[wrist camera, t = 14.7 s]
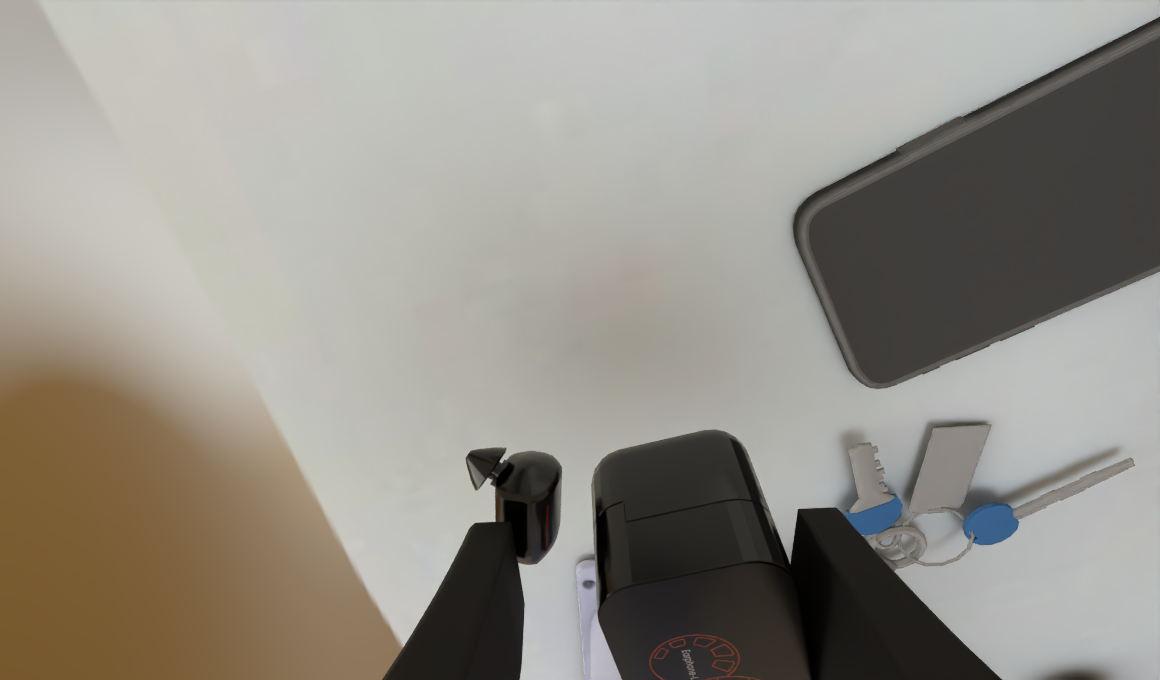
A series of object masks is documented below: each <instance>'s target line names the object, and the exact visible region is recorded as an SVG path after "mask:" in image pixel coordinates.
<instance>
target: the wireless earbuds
mask: <svg viewBox="0 0 1160 680" xmlns="http://www.w3.org/2000/svg"><path fill="white" fill-rule="evenodd" d="M505 452H506V448H485V449H477V450H472V451H470V453H469V454H468V455H467V457H466V464H467V468H468V471H469V475H470V479H471V481H472V484H473V486H474V488H475V491H476V490H478V489H479V488H480V487H481V486H482V484H483V483H484V482H485V480H486V479H487V478H490V479H491V480H492V482H491V485H492V486H494V487H495V501H496V522H509V521H511V523H512V529H513V535H514V541H515V548H516V554H517V560H518V563H521V564H526V565H532V564H537V563H538V562H539V561H541V560H542V559H543V558H544V557H545V555H546V554H547V553H548V552H549V551H550V549H551V548H552V546H553V545H554V543H555V540H556V538H557V534H558V530H559V526H560V515H561V485H562V467H561V465H560V463H559V462H558V461H557V459H555V458H554V457H553V456H551V455H549V454H547V453H543V452H537V451H527V452H521V453H516V454H514V455H511V456H510V457H509V458H508V459H507V460H504V461H503V463H500V462H499V461H500V459H501V458H502V456H503V455H504V453H505ZM591 487H592V509H593V529H594V530H593V531H594V553H595V575H596V597H597V615H598V622H599V625H600V627H601V630H602V632H603V635H604V637H605V639H606V642H607V644H608V647H609V649H610V652H611V654H612V657H613V659H614V662H615V664H616V667H617V669H618V672H619V674H620V676H621V679H622V680H813V675H812V669H811V663H810V657H809V651H808V645H807V639H806V633H805V627H804V621H803V615H802V609H801V603H800V597H799V591H798V585H797V581H796V579H795V576H794V573H793V571H792V568H791V566H790V563H789V560H788V558H787V555H786V552H785V550H784V547H783V544H782V542H781V539H780V536H779V534H778V531H777V529H776V526H775V523H774V521H773V518H772V515H771V513H770V510H769V507H768V505H767V502H766V500H765V497H764V494H763V492H762V489H761V486H760V484H759V481H758V478H757V476H756V473H755V471H754V468H753V465H752V463H751V460H750V457H749V455H748V453H747V450H746V449H745V447H744V446H743V444H742V443H741V442H740V441H739V440H738V439H737V438H736V437H734V436H733V435H731V434H729V433H727V432H725V431H720V430H703V431H699V432H694V433H690V434H686V435H681V436H677V437H673V438H668V439H664V440H659V441H655V442H651V443H646V444H642V445H638V446H633V447H629V448H624V449H620V450H617V451H615V452H612V453H610V454H608V455H607V456H606V457H604V458H603V459H602V460H601V461H600V463H599V464H598V466H597V467H596V468H595V471H594V475H593V479H592V484H591Z"/></svg>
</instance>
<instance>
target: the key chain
mask: <svg viewBox="0 0 1160 680" xmlns="http://www.w3.org/2000/svg"><path fill="white" fill-rule="evenodd" d="M991 426H992V425H973V426H954V427H936V428H933V431H932V435H931V438H930V441H929V444H928V447H927V450H926V454H925V457H924V460H923V463H922V466H921V470H920V473H919V476H918V479H917V482H916V485H915V489H914V492H913V495H912V498H911V501H910V504H909V509H910V510H911V511H912V512H913V513H916V514H914V515H912V516H911V517H909V518H908V519H907V520H906V521H905V522H904V523H903V524H902V525H899V526H896V525H895V524H894V522H895V521H896V520H897V519H898V518H899V517H900V515H901V510H902V503H901V501H900V500H899V498H898V497H897V495H896V494H895V493H894V494H893V495H891V494H888V493H885V492H886V491H888V487H887V485H884V483H883V481H882V482H880V483H879V480H882V479H883V474H885V471H884V468H883V467H882V468H880V469H876V467H878V466H881V465H880V461H879V459H878V460H875V459H874V453H877V452H878V449H877V446H874V447H872V444H871V443H862V444H858V445H856V446H855V447H853V448H852V449H850V450H849V455H850V460H851V465H852V469H853V474H854V478H855V483H856V488H857V492H858V497H859V499H858V500H857V501H856V502H855V504H854V505H853V506H852V507H851V509H850V510H846V515H845V517H846V518H847V519H848V521H849V522H850V523H851V524H852V525H853V526H854V527H855V528H856V530H857V531H858V532H859V533H860V534H861V535H870V534H872V535H873V537H872V538H871V539H870V540H869V542H868V543H869V544H870V545H871V547H872V548H873V549H874V550H875V548H876V546H877V547H878V548H880V549H884V550H888V549H891V548H893V547H894V546H895V545H896V544H897V543H898V546H899V549H900V552H901V553H902V554H903V555H904V556H905V557H903V558H901V559H898V560H891V559H889V558H887V557H885V556H883V555H881V554H880V553H878V552H877V553H878V554H879V556H880V557H881V558H882V559H883V560H884V561H885V562H886V563H887V564H888V565H889V567H890V568H891V569H892V570H893V571H895V569H899V568H904V567H906V566H909V565H911V564H913V563H918V564H921V565H924V566H943V565H946V564H949V563H951V562H954V561H957V560H959V559H960V558H961V557H962V556H963V555H965V554H966V553H967V552H968V551H969V550H970V549H971V546H972V543H976V544H979V545H992V544H995V543H998V542H1002V541H1003V540H1005V539H1007V538H1008V537H1010V536H1011V535H1012V534H1013V533H1014V532H1015V531H1016V530H1017V528H1018V524H1019V521H1018V520H1019V519H1021V518H1023V517H1025V516H1028V515H1030V514H1032V513H1034V512H1037V511H1039V510H1041V509H1043V508H1046V506H1048V505H1050V504H1053V503H1055V502H1057V501H1059V500H1060V501H1061V500H1064V499H1066V498H1068V497H1070V496H1073V495H1075V494H1077V493H1079V492H1082V491H1084V490H1085V489H1086V488H1089V487H1091V486H1093V485H1095V484H1097V483H1100V482H1102V481H1104V480H1106V479H1108V478H1110V477H1112V476H1114V475H1116V474H1118V473H1121V472H1123V471H1125V470H1127V469H1129V468H1131V467H1133V466H1135V464H1134V463H1133V462H1134V461H1133V459H1132V458H1129V459H1126V460H1124V461H1121V462H1119V463H1117V464H1114V465H1112V466H1109V467H1107V468H1104V469H1102V470H1100V471H1097V472H1096V471H1095V472H1093V473H1090V474H1088V475H1086V476H1084V477H1082V478H1080V479H1079V480H1077V481H1075V482H1073V483H1070V484H1068V485H1066V486H1064V487H1061V488H1059V489H1057V490H1053V491H1050V492H1048V493H1046V494H1044V495H1041V497H1039V498H1037V499H1035V500H1032V501H1030V502H1028V503H1026V504H1023V505H1021V506H1019V507H1017V508H1015V509H1012V508H1011V506H1009V505H1007V504H1005V503H1003V502H1001V503H990V504H986V505H983V506H980V507H979V508H977V509H976V510H974V511H972V512H971V513H970V515H969V516H968V517H967V518H966V517H965V516H964V515H963V514H962V513H959V512H956V511H954V510H956V509H958V508H959V507H961V506H962V505H963V502H964V499H965V497H966V494H967V491H968V489H969V486H970V483H971V480H972V478H973V475H974V472H975V469H976V467H977V464H978V461H979V458H980V456H981V453H982V450H983V447H984V445H985V442H986V439H987V436H988V434H989V431H990V428H991ZM928 508H934V509H928ZM942 512H948V513H951V514H954V515H957V516H959V517H960V518H961V519H962V520H963V521H964V525H963V530H964V534H965V535H966V537H967V538H968V539H969V543H968V545H967V548H966V549H965V550H964V551H963V552H962V553H961V554H959V555H958V556H957V557H956V558H954V559H951V560H948V561H946V562H943V563H924V562H921V561H919V560H918V559H919V558H920V557H922V556H923V554H924V552H925V549H926V547H927V541H926V538H925V535H924V534H923V533H922V532H920V531H919V530H918V529H916V528H914V527H910V526H906V525H907V524H908V523H909V522H910V521H911V520H912V519H913V518H915V517H917V516H920V515H922V514H929V513H942ZM969 532H970V535H969ZM902 534H907V535H912V536H914V537H915V538H916V539H917V543H918V544H917V547H916V549H915V550H914V551H913V552H911V553H910V554H908V553H906V552H905V551H904V549H903V545H902V542H901V536H902ZM894 535H896V537H895V540H894V541H893V542H892V543H891V544H890V545H888V546H884V545H881V544H880V543H881V542H882V541H883V540H885V539H887V538H889V537H891V536H894Z"/></svg>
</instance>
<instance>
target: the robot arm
mask: <svg viewBox="0 0 1160 680" xmlns="http://www.w3.org/2000/svg"><path fill="white" fill-rule="evenodd" d="M790 566H791V568H792V571H793V573H794V576H795V579H796V581H797V585H798V591H799V597H800V603H801V609H802V615H803V621H804V627H805V633H806V639H807V645H808V651H809V657H810V663H811V669H812V675H813V680H1002V679H1001V678H1000V677H999V676H997V675H996V674H995V673H994V672H993V671H992V670H991V669H990V668H989V667H988V666H987V665H986V664H985V663H984V662H983V661H982V660H981V659H979V658H978V657H977V656H976V655H975V654H974V653H973V652H972V651H971V650H970V649H969V648H968V647H967V646H966V645H965V644H964V643H963V642H962V641H961V640H960V639H959V638H958V637H957V636H956V635H955V634H954V633H953V632H952V631H951V630H950V629H949V628H948V627H947V626H946V625H945V624H944V623H943V622H942V621H941V620H940V619H939V618H938V617H937V616H936V615H935V614H934V613H933V612H932V611H931V610H930V609H929V608H928V607H927V606H926V605H925V604H924V603H923V602H922V601H921V600H920V599H919V598H918V597H917V596H916V594H915V593H914V592H913V591H912V590H911V589H910V588H909V587H908V586H907V585H906V584H905V583H904V582H903V581H902V580H901V579H900V577H899V576H898V575H897V574H896V573H895V572H894V571H893V570H892V569H891V568H890V567H889V565H888V564H887V563H886V562H885V561H884V560H883V559H882V558H881V557H880V556H879V554H878V553H877V552H876V551H875V550H874V549H873V548H872V547H871V545H870V544H869V543H868V542H867V541H866V540H865V539H864V538H863V536H862V535H861V534H860V533H859V532H858V531H857V530H856V528H855V527H854V526H853V525H852V524H851V523H850V522H849V521H848V519H847V518H846V517H845V516H844V515H843V514H842V513H841V512H840V511H839V510H838V509H837V508H812V509H798V513H797V521H796V528H795V535H794V542H793V549H792V557H791V564H790ZM588 580H591V581H588ZM576 582H577V593H578V605H579V617H580V629H581V641H582V652H583V664H584V676H585V680H622V679H621V676H620V674H619V672H618V669H617V667H616V664H615V662H614V659H613V657H612V654H611V652H610V649H609V647H608V644H607V642H606V639H605V637H604V635H603V632H602V630H601V627H600V625H599V622H598V615H597V597H596V575H595V559H594V560H584V561H582V562H580V563H579V564H578V565H577V567H576ZM524 605H525V603H524V597H523V591H522V585H521V578H520V572H519V566H518V560H517V554H516V548H515V541H514V535H513V529H512V523H511V521H509V522H486V523H475V524H474V525H472V526H471V527H470V528H469V530H468V533H467V535H466V537H465V539H464V541H463V543H462V545H461V547H460V549H459V551H458V553H457V555H456V557H455V559H454V561H453V563H452V565H451V567H450V569H449V571H448V572H447V574H446V576H445V578H444V580H443V582H442V583H441V585H440V587H439V589H438V591H437V592H436V594H435V596H434V598H433V599H432V601H431V603H430V605H429V606H428V608H427V610H426V611H425V613H424V615H423V616H422V618H421V620H420V621H419V623H418V625H417V626H416V628H415V630H414V631H413V633H412V635H411V636H410V638H409V640H408V641H407V643H406V644H405V646H404V648H403V649H402V651H401V652H400V654H399V655H398V657H397V658H396V660H395V661H394V663H393V664H392V666H391V667H390V669H389V670H388V672H387V673H386V675H385V676H384V678H383V679H382V680H519V679H520V672H521V664H522V646H523V627H524Z"/></svg>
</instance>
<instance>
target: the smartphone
mask: <svg viewBox="0 0 1160 680" xmlns="http://www.w3.org/2000/svg"><path fill="white" fill-rule="evenodd" d="M896 150H897V151H896V152H894V153H892V154H890V155H888V156H886V157H884V158H882V159H880V160H878V161H876V162H874V163H872V164H870V165H868V166H867V167H865V168H863V169H861V170H859V171H857V172H855V173H853V174H851V175H849V176H847V177H845V178H843V179H841V180H839V181H837V182H836V183H834V184H832V185H830V186H828V187H826V188H824V189H822V190H820V191H818V192H816V193H814V194H813V195H812V196H810V197H809V198H807V199H806V200H805V201H804V202H803V203H802V205H801V206H800V207H799V208H798V210H797V212H796V214H795V219H794V225H793V229H794V238H795V243H796V246H797V248H798V250H799V253H800V255H801V257H802V260H803V262H804V264H805V267H806V269H807V271H808V274H809V276H810V279H811V281H812V283H813V286H814V288H815V290H816V293H817V295H818V297H819V300H820V302H821V305H822V307H823V309H824V312H825V314H826V316H827V319H828V321H829V323H830V326H831V328H832V331H833V333H834V335H835V338H836V340H837V343H838V345H839V347H840V350H841V352H842V354H843V357H844V359H845V362H846V364H847V366H848V369H849V371H850V372H851V373H852V375H853V376H854V377H855V378H856V379H857V380H858V381H859V382H861V383H862V384H864V385H865V386H867V387H870V388H875V389H880V388H888V387H891V386H895V385H897V384H899V383H902V382H904V381H906V380H909V379H911V378H913V377H916V376H918V375H920V374H925V373H927V372H930V371H932V370H934V369H937V368H939V367H940V366H941V365H943V364H946V363H948V362H950V361H953V360H958V359H960V358H962V357H965V356H967V355H969V354H972V353H974V352H976V351H979V350H981V349H983V348H986V347H988V346H990V344H992V343H995V342H997V341H999V340H1000V341H1002V340H1004V339H1007V338H1009V337H1011V336H1014V335H1016V334H1018V333H1021V332H1023V331H1025V330H1028V329H1030V328H1032V327H1035V326H1034V325H1037V324H1039V323H1041V322H1044V321H1046V320H1048V319H1051V318H1053V317H1055V316H1058V315H1060V314H1062V313H1065V312H1067V311H1069V310H1071V309H1074V308H1076V307H1078V306H1081V305H1083V304H1085V303H1088V302H1090V301H1092V300H1095V299H1097V298H1099V297H1102V296H1104V295H1106V294H1109V293H1111V292H1113V291H1116V290H1118V289H1120V288H1123V287H1125V286H1127V285H1130V284H1132V283H1134V282H1136V281H1139V280H1141V279H1143V278H1146V277H1148V276H1150V275H1153V274H1155V273H1157V272H1160V17H1159V18H1157V19H1155V20H1153V21H1151V22H1149V23H1147V24H1145V25H1143V26H1141V27H1139V28H1138V29H1136V30H1134V31H1132V32H1130V33H1128V34H1126V35H1124V36H1122V37H1120V38H1118V39H1116V40H1114V41H1112V42H1110V43H1108V44H1106V45H1104V46H1102V47H1100V48H1098V49H1096V50H1094V51H1092V52H1090V53H1088V54H1086V55H1084V56H1082V57H1080V58H1078V59H1076V60H1074V61H1072V62H1071V63H1069V64H1067V65H1065V66H1063V67H1061V68H1059V69H1057V70H1055V71H1053V72H1051V73H1049V74H1047V75H1045V76H1043V77H1041V78H1039V79H1037V80H1035V81H1033V82H1031V83H1029V84H1027V85H1025V86H1023V87H1021V88H1019V89H1017V90H1015V91H1013V92H1011V93H1009V94H1007V95H1005V96H1004V97H1002V98H1000V99H998V100H996V101H994V102H992V103H990V104H988V105H986V106H984V107H982V108H980V109H978V110H976V111H974V112H972V113H970V114H968V115H966V116H964V117H958V118H956V119H954V120H952V121H950V122H948V123H946V124H944V125H942V126H940V127H938V128H936V129H934V130H932V131H930V132H928V133H926V134H924V135H922V136H920V137H918V138H916V139H914V140H912V141H910V142H909V143H907V144H905V145H903V146H901V147H899V148H897V149H896Z"/></svg>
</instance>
